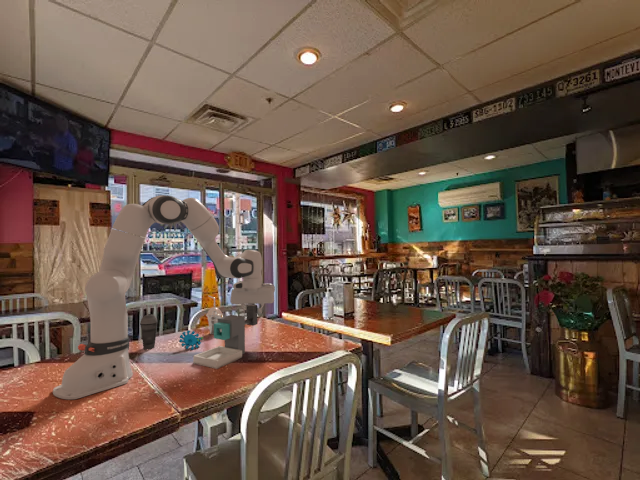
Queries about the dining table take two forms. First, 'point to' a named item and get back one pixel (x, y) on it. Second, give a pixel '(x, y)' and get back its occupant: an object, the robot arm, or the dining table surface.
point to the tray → (217, 357)
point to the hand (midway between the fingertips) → (252, 313)
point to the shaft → (250, 316)
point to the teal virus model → (190, 340)
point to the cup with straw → (213, 316)
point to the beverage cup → (148, 330)
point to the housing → (235, 332)
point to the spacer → (225, 331)
